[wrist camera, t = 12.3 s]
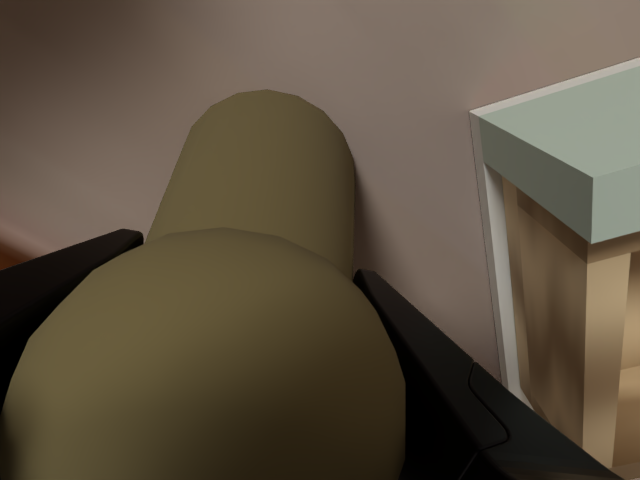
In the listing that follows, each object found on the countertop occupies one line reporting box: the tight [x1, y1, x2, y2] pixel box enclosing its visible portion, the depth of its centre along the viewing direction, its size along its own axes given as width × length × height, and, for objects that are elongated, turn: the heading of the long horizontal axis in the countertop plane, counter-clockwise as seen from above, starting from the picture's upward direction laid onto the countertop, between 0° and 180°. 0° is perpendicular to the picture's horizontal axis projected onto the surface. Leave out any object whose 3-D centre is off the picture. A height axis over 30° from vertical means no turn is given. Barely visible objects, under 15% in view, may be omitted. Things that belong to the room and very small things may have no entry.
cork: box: [0, 90, 406, 480], centre depth 9 cm, size 6×6×11 cm
